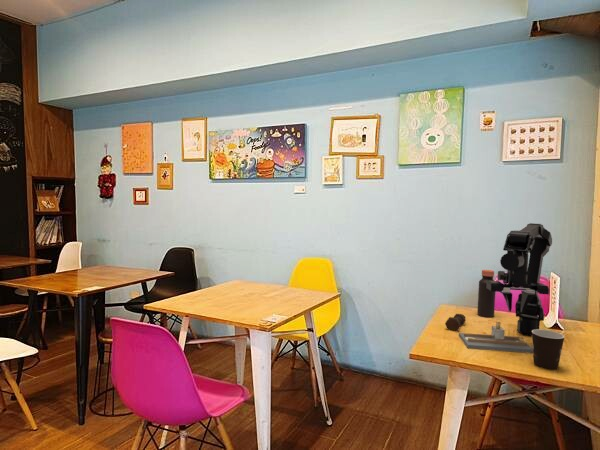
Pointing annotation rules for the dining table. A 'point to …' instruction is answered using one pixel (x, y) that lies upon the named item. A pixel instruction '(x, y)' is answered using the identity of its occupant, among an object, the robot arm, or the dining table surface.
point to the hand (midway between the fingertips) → (515, 311)
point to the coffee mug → (547, 348)
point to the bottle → (486, 295)
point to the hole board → (494, 343)
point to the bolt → (455, 322)
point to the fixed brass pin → (521, 339)
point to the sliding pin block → (497, 332)
